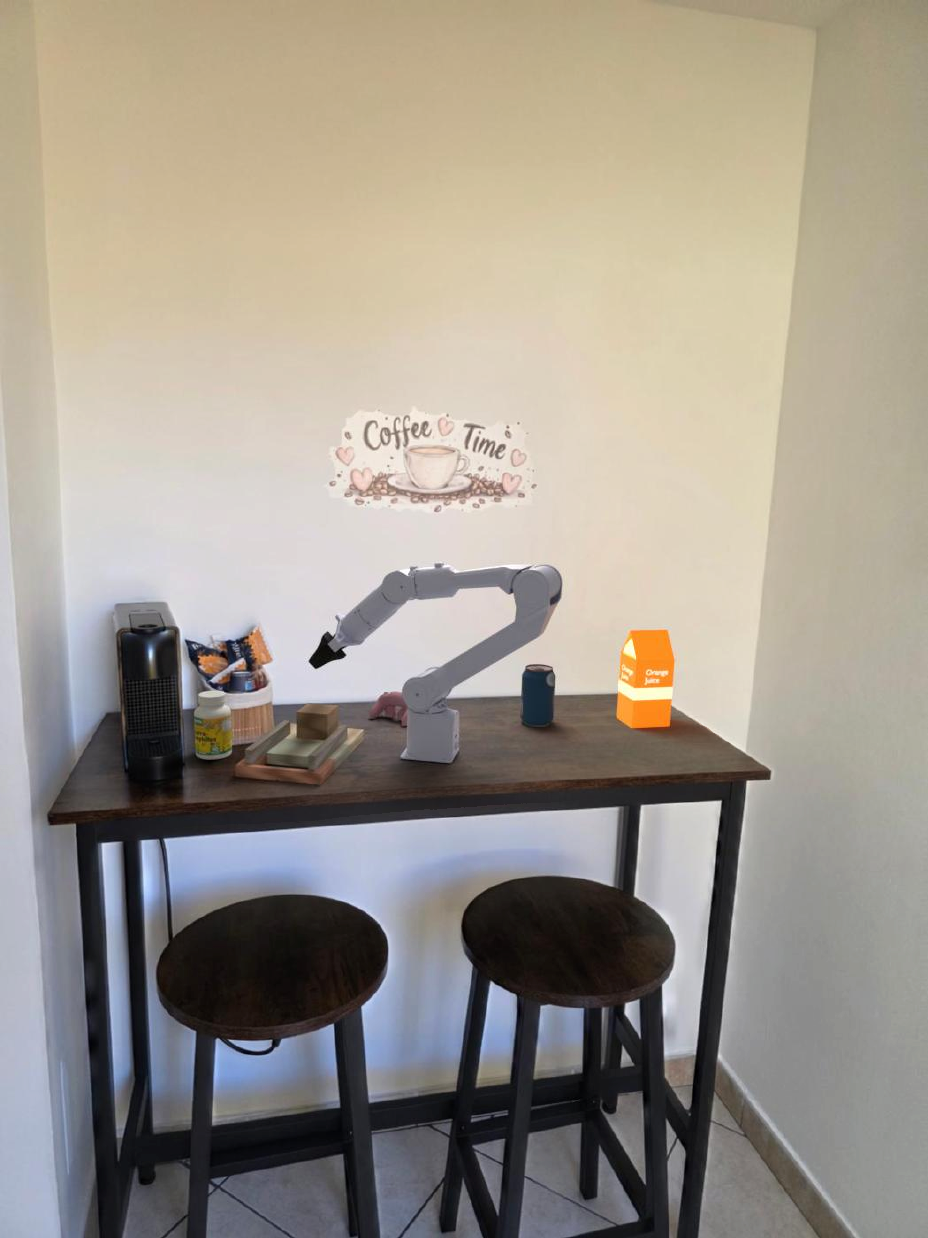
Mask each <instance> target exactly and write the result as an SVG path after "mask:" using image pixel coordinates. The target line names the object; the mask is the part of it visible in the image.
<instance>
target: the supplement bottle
mask: <svg viewBox="0 0 928 1238" xmlns="http://www.w3.org/2000/svg"><path fill="white" fill-rule="evenodd" d="M197 702H198V706H197V707H196V708H195V710H194V712H193V719H194V720H193V723H194V726H193V727H194V744H195V745H194V747H195V755H196V756H197V758H198V759H202V760H207V761H208V760H209V761H211V760H221V759H225V758H228V757H229V756H230V755H231V754H232V753H233V741H232V740H233V735H232V710H231V707H229V705H226V702H227V698H226V692H224V691H222V690H206V691H201V692H199V693H198V694H197Z"/></svg>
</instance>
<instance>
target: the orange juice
mask: <svg viewBox="0 0 928 1238" xmlns="http://www.w3.org/2000/svg"><path fill="white" fill-rule="evenodd" d="M673 652H674V651H673V648H672V643H671V639H670V634H669V629H641V630H640V629H639V630H638V629H635V630H633V629H631V630H629V633H628V635H627V637H626V640H625V642H624V645H623V646H622V649H621V652H620V657H619V658H620V660H619V672H618V673H619V675H618V687H617V691H618V692H617V703H616V704H617V707H616V718H617V719H618V721H619V720H620V721H621V722H622V723H624V724H625V725H626V726H627V727H629V728H631V729H642V728H661V727H662V728H663V727H664V728H665V727H670V723H671V711H672V700H673V691H674V684H673V683H674V674H675V661H676V659H675V656H674V653H673Z"/></svg>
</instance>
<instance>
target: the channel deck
mask: <svg viewBox="0 0 928 1238" xmlns="http://www.w3.org/2000/svg"><path fill="white" fill-rule="evenodd" d="M364 740H365V729H361V728H360V729H359V728H352V727H351V728H348V725H343V724H341V725H340V726H338V729H337V730H336V731H335V732H334V733H332V734H331V735H330V736H329V737H328V738H327V739H326V740H315V739H304V738H297V724H296V723H292V722H291V720H283V721H281V722H280V723H278V724H277V725H276V726H275V727H273V728H272V729H271V730H269V731H268V732H267V733H265V734H264V735H263V736H261V737H260V738H259V739H257V740H256V741H255V742H253V743H252V744H250V745H249V746H248V747H247V748H245V749H244V758H243V759H241V760H240V761H239V762H238V763H236V764H235V765H234V766H235V768H234V769H235V771H234V772H235V777H237V778H247V779H258V780H267V781H276V780H278V782H286V781H287V783H298V784H305V783H306V784H305V785H307V784H308V785H315V784H316V785H317V786H321V785H322V784H323V783H324V782H325V781H326V780H327V779H328V778H329V777H330V776H331V775H332V774H331V773H334V771H335V770H337V768H338V767H339V766H340V765H341V764H343V762H344V761H345V760H346V759H347V758H348V757H349V756H350V755H351V754H352V753H353V752H354V751H355V749H357V747H358V746H359V745H360V744H361V743H362V742H363V741H364ZM268 765H269V766H268ZM270 765H278V766H270ZM281 766H286V767H281ZM287 766H288V767H287ZM292 767H297V768H292ZM298 767H299V768H298ZM301 768H303V769H301ZM304 768H307V769H304ZM288 781H289V782H288Z"/></svg>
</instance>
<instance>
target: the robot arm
mask: <svg viewBox="0 0 928 1238" xmlns="http://www.w3.org/2000/svg"><path fill="white" fill-rule="evenodd" d="M532 567H533V568H532ZM483 588H499V589H501V590H502V591H503V592H504V593H505V594H506V595H512V594H513V598H514V603H515V608H516V609H515V616H514V621H513V622H511V623H509V624H508V625H506V626H505V627H503V628H502V629H500V630H498V631H497V632H494V633H493V634H491V635H490V636H488V637H487V638H485V639H484V640H482V641H480V642H479V643H477V644H475V645H473V646H472V647H470V648H468V649H467V650H465V651H464V652H463V653H460V654H458V655H457V656H456V657H453V658H452V659H451V660H448V661H447V662H446V663H444V664H442V665H440V666H431V667H428V668H427V669H426V670H424V671H423V672H421V673H419V674H418V675H416V676H412V677H410V678H409V679H407V680H406V681H405V682H404V684H403V686H402V689H401V692H402V697H403V700H404V702H405V704H406V705H407V706H408V709H407V726H406V748H405V749H404V750H403V751H402V753H401V754H400V757H399V758H400V759H402V760H412V761H422V762H435V763H446V764H452V763H453V761H454V759H455V757H457V754H458V753H459V751H460V747H459V745H460V743H459V742H460V740H459V739H460V712H459V710H457V709H451V708H449V707H448V703H447V697H449V695H450V694H451V693H452V690H453V689H454V688H455V687H457V686H459V685H460V684H462V683H464V682H466V681H467V680H468V679H471V678H472V677H474V676H475V675H478V674H480V672H482V671H484V670H485V669H487V668H489V667H491V666H492V665H494V664H495V663H497V662H499V661H501V660H502V659H504V658H506V657H508V656H510V655H511V654H513V653H514V652H516V651H517V650H520V649H521V648H523V647H524V646H526V645H527V644H530V643H531V642H532V641H534V640H536V639H538V638H539V637H541V636H542V635H543V634H544V632H545V631H546V629H547V627H548V624H549V623H550V620H551V617H552V616H553V614H554V612H555V610H556V607H557V606H558V604H559V603H560V601H561V600H562V595H563V593H562V592H563V578H562V575H561V573H560V571H559V569H557V568H556V567H554V566H552V565H551V564H545V563H544V564H538V565H536V566H535V565H534V564H528V563H527V564H522V563H521V564H502V565H496V566H487V567H481V568H473V569H467V570H458V569H456V568H455V567H453V566H452V565H450V564H445V563H444V561H441V562H439V561H438V562H434V566H427V567H418V565H412V566H410V567H409V568H403V569H398V570H395V571H392V572H391V571H390V572H389V573H387V574H386V575H385V576H384V578H383V580H382V583H381V584H380V585H379V586H378V587H377V588H375V589H374V590H372V591H371V592H370V593H369V594H368V595H367V596H366V597H365V598H364V599H363V600H361V601H360V602H359V603H358V604H356V606H354V607H353V608H352V609H351V610H350V611H349V612H348V613H346V614H345V615H344V614H343V613H342V612H338V613H337V614H336V615H334V616H335V619H336V621H337V625H336V630H335V633H334V634H333V635H332V634H331V633H330V631H328V630H327V631H326V632H325V633H323V634H322V635H321V637H320V641H319V644H318V647H317V648H316V650H315V651H314V652H313V654H311V657H309V659H308V663H309V664H310V665H311V666H312V667H313V669H314V670H317V669H319V668H321V667H323V666H326V665H327V664H329V663H331V662H334V661H339V660H343V659H344V658H346V657H347V653H346V652H345V651H344V650H345V648H347V647H350V646H351V647H352V646H360V645H362V644H363V643H364V642H365V641H366V639H368V638H369V637H370V636H371V635H372V634H373V633H374V632H376V631H377V629H379V628H381V626H382V625H383V624H385V622H387V621H388V620H389V619H391V617H393V616H394V615H395V614H396V613H397V612H398V610H400V609H401V608H402V607H403V606H404V605H405V604H406V603H407V602H409V601H414V600H418V601H424V600H425V601H426V600H436V599H444V598H446V599H447V598H448V599H449V598H453V597H455V595H457V593H458V591H459V590H467V589H483ZM343 649H344V650H343Z"/></svg>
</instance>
